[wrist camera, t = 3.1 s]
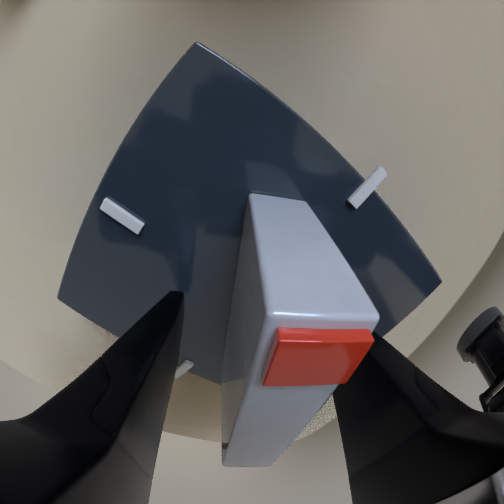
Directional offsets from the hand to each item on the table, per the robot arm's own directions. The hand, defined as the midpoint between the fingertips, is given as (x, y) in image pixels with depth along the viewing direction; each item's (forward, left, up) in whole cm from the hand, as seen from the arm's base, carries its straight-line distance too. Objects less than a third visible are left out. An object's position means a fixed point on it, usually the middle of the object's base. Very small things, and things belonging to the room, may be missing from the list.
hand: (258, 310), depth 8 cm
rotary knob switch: (0, 0, -4) cm, 4 cm away
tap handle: (0, 0, 0) cm, 0 cm away
